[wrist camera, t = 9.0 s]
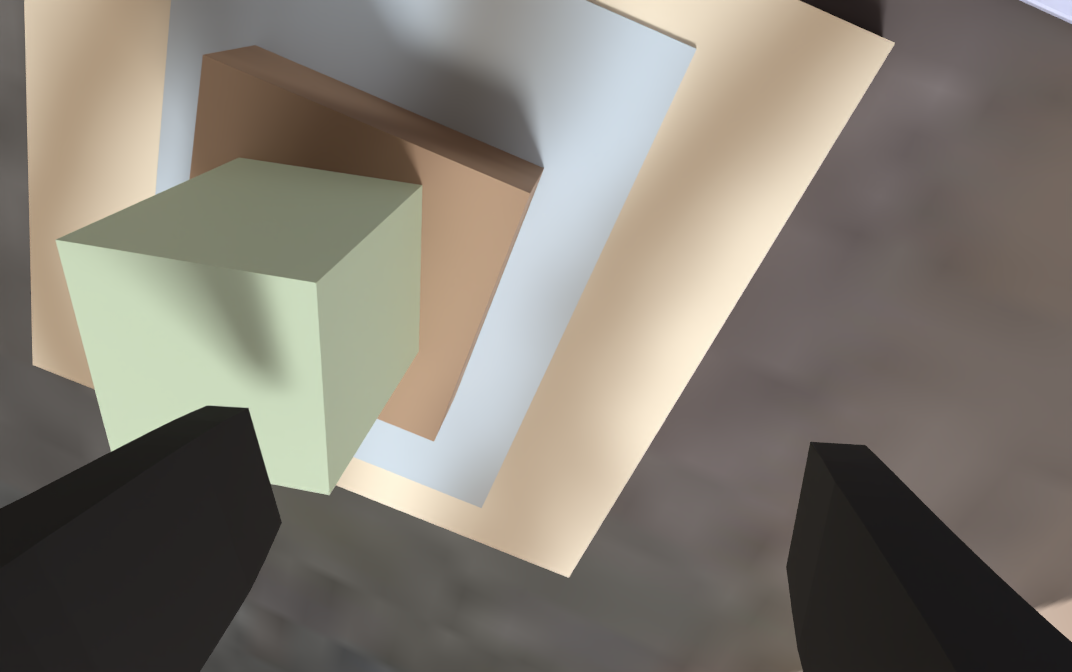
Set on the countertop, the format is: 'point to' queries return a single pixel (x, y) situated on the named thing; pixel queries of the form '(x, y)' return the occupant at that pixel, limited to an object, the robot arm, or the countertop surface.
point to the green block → (254, 308)
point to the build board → (633, 293)
